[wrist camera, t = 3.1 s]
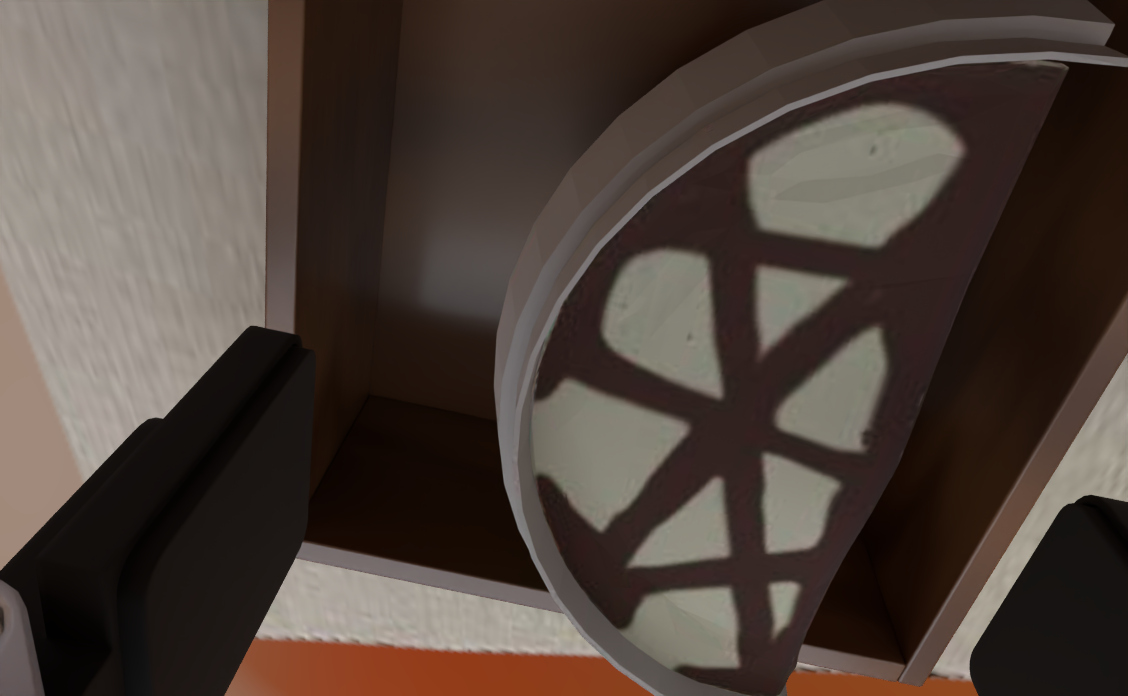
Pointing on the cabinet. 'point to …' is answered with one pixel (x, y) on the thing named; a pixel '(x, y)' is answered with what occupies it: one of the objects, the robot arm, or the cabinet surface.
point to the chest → (497, 237)
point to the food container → (758, 317)
